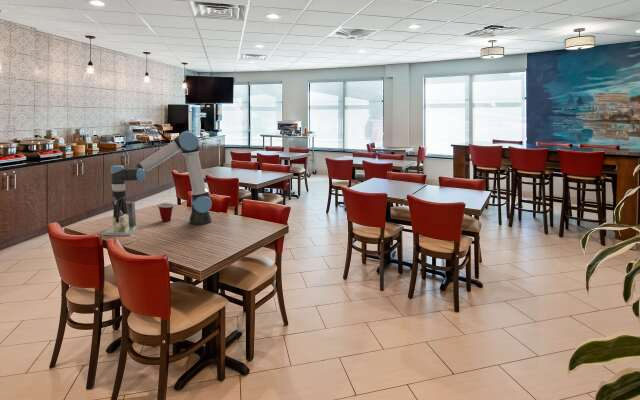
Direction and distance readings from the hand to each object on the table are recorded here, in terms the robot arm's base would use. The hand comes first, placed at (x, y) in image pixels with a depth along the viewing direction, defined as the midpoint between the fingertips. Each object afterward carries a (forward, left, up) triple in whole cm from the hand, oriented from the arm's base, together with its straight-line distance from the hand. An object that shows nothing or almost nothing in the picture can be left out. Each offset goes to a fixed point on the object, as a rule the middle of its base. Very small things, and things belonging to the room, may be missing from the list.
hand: (121, 225), depth 258 cm
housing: (0, 0, -3) cm, 3 cm away
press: (0, -5, -4) cm, 7 cm away
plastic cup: (-20, -29, -5) cm, 36 cm away
